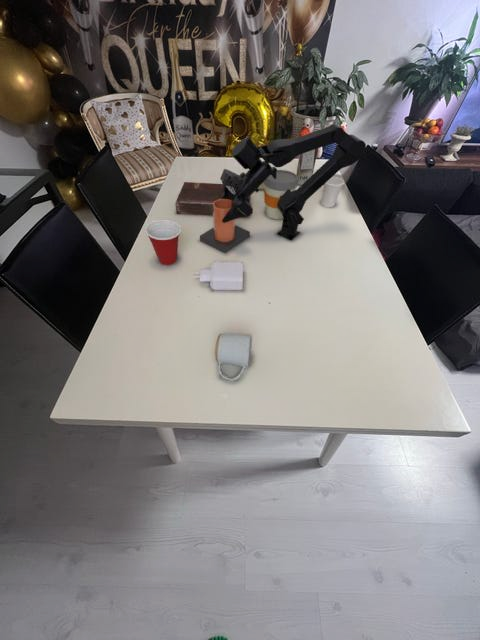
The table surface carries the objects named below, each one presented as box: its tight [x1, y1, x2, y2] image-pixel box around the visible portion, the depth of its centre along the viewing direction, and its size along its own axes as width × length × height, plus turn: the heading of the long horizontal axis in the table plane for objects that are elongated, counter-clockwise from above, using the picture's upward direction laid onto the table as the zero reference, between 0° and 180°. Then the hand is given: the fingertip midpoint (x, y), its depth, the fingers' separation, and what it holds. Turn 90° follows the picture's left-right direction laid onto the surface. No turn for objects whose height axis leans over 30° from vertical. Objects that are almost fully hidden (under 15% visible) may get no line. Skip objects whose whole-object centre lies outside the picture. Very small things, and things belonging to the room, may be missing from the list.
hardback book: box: [175, 181, 251, 219], centre depth 124 cm, size 29×19×5 cm, turn 86°
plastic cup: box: [144, 219, 182, 266], centre depth 95 cm, size 11×11×12 cm
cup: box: [212, 199, 236, 242], centre depth 102 cm, size 7×7×12 cm
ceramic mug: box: [214, 332, 253, 382], centre depth 69 cm, size 11×8×8 cm
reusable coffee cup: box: [263, 169, 298, 220], centre depth 117 cm, size 13×13×15 cm
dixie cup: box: [321, 176, 345, 208], centre depth 126 cm, size 8×8×10 cm
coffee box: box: [295, 148, 319, 186], centre depth 139 cm, size 9×6×16 cm
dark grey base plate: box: [199, 224, 251, 254], centre depth 108 cm, size 14×12×4 cm
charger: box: [193, 261, 244, 291], centre depth 91 cm, size 5×9×15 cm
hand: (220, 214), depth 100 cm, fingers open, 9 cm apart
